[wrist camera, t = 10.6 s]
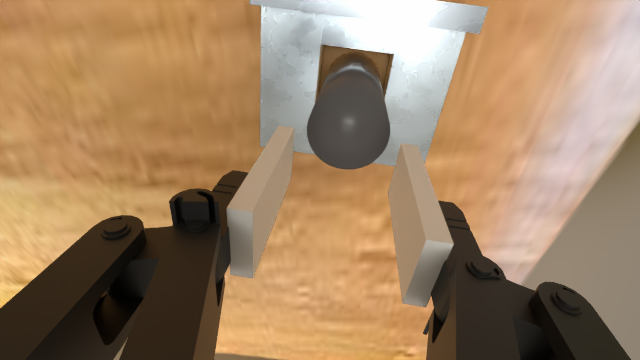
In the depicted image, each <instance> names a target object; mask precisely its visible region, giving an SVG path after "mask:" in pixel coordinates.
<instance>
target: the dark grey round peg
mask: <svg viewBox="0 0 640 360" xmlns="http://www.w3.org/2000/svg"><path fill="white" fill-rule="evenodd" d="M307 138H308V141H309V144H310V146H311V148H312V150H313V152H314V153H315V154H316V155H317V156H318V157H319V158H320V159H321V160H322V161H323V162H325V163H327V164H328V165H331V166H333V167H336V168H340V169H357V168H361V167H364V166H367V165H369V164H370V163H372V162H374V161H375V160H376V159H377V158H378V157H380V155H381V154H382V153H383V152H384V150H385V149H386V146H387V144H388V141H389V138H390V122H389V118H388V113H387V108H386V104H385V99H384V94H383V90H382V85H381V80H380V76H379V71H378V68H377V66H376V64H375V63H374V62H373V60H372V59H371V58H369V57H368V56H366V55H364V54H362V53H356V52H353V53H347V54H344V55H342V56H340V57H339V58H337V59H336V60H335V61H334V63H333V64H332V65H331V67H330V69H329V72H328V74H327V76H326V79H325V81H324V83H323V86H322V88H321V90H320V93H319V95H318V97H317V100H316V102H315V105H314V107H313V109H312V112H311V114H310V116H309V119H308V123H307Z"/></svg>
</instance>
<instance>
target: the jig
mask: <svg viewBox="0 0 640 360" xmlns="http://www.w3.org/2000/svg"><path fill="white" fill-rule="evenodd" d="M249 4H251V5H259V6H261V87H260V146H261V147H265V146H266V145H267V143H268V142H269V140H270V138H271V137H272V135H273V134H274V132H275V130H276V129H277V127H278V126H286V127H293V128H295V132H294V147H293V151H295V152H302V153H309V154H315V153H314V152H313V150H312V148H311V146H310V144H309V141H308V138H307V123H308V119H309V116H310V114H311V112H312V109H313V107H314V105H315V102H316V100H317V97H318V94H319V84H320V75H321V65H322V56H323V46H324V45H329V46H337V47H344V48H352V49H359V50H367V51H374V52H382V53H390V54H391V55H390V60H389V65H388V70H387V74H386V79H385V84H384V89H383V94H384V99H385V104H386V108H387V113H388V118H389V122H390V138H389V141H388V144H387V146H386V149H385V150H384V152H383V153H382V154H381V155H380V157H378V158H377V159H376V160H375V161H374V162H372V163H376V164H383V165H390V166H395V164H396V160H397V157H398V153H399V149H400V145H401V143H404V144H411V145H418V148H419V150H420V153H421V156H422V159H423V161H424V163H425V160H426V157H427V154H428V151H429V148H430V145H431V141H432V138H433V135H434V132H435V129H436V126H437V122H438V119H439V116H440V113H441V110H442V107H443V104H444V100H445V97H446V94H447V91H448V88H449V85H450V82H451V78H452V75H453V72H454V69H455V66H456V63H457V59H458V56H459V53H460V50H461V47H462V44H463V41H464V37H465V34H466V32H469V33H477V34H480V31H481V28H482V25H483V22H484V19H485V16H486V13H487V10H488V8H489V7H483V6H475V5H467V4H459V3H451V2H443V1H435V0H249ZM315 155H316V154H315Z"/></svg>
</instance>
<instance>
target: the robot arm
mask: <svg viewBox="0 0 640 360" xmlns="http://www.w3.org/2000/svg"><path fill="white" fill-rule="evenodd" d="M294 132H295V128H293V127H286V126H278V127H277V129H276V130H275V132H274V134H273V135H272V137H271V138H270V140H269V142H268V143H267V145H266V146H265V148H264V150H263V151H262V153H261V154H260V156H259V157H258V159H257V161H256V162H255V164H254V165H253V167H252V169H251V170H250V172H249V173H247V172H240V171H234V170H233V171H231V172H229V173H228V174H226V175H224V176H223V177H222V178H221V179H220V181H219V182H218V183H217V185H216V186H215V187H214V189H213V191H210V190H207V189H189V190H186V191H182V192H180V193H178V194H176V195H174V196H173V197H172V198H171V200H170V201H169V204H170V209H171V215H172V221H173V226H170V227H160V228H145V229H144V225H143V222H142V221H141V220H140V219H139V218H137V217H134V216H126V215H121V216H116V217H111V218H108V219H106V220H103V221H101V222H100V223H98V224H97V225H95V226H93V227H92V228H91V229H90V230H89V231H88V232H87V233H86V234H84V235H83V236H82V237H81V238H80V239H79V240H78V241H76V242H75V243H74V244H73V245H72V246H71V247H70V248H69V249H67V250H66V251H65V252H64V253H63V254H62V255H61V256H59V257H58V258H57V259H56V260H55V261H54V262H53V263H52V264H50V265H49V266H48V267H47V268H46V269H45V270H44V271H42V272H41V273H40V274H39V275H38V276H37V277H36V278H35V279H33V280H32V281H31V282H30V283H29V284H28V285H27V286H25V287H24V288H23V289H22V290H21V291H20V292H19V293H17V294H16V295H15V296H14V297H13V298H12V299H11V300H10V301H8V302H7V303H6V304H5V305H4V306H3V307H2V308H0V360H113V359H114V358H115V356H116V355H117V353H118V352H119V350H120V349H121V347H122V346H123V344H124V343H125V341H126V340H127V342H126V344H125V347H124V349H123V352H122V354H121V357H120V359H119V360H214V355H215V348H216V342H217V335H218V328H219V321H220V315H221V308H222V301H223V294H224V288H225V278H224V274H225V272H226V270H227V268H228V266H229V264H230V275H235V276H241V277H248V278H253V277H254V274H255V272H256V269H257V267H258V264H259V261H260V259H261V256H262V254H263V251H264V248H265V246H266V243H267V240H268V238H269V235H270V233H271V230H272V227H273V225H274V222H275V219H276V217H277V214H278V212H279V209H280V206H281V204H282V201H283V199H284V196H285V193H286V191H287V188H288V185H289V183H290V180H291V176H292V161H293V147H294ZM388 197H389V204H390V212H391V220H392V227H393V235H394V243H395V250H396V258H397V265H398V273H399V281H400V288H401V296H402V303H404V304H410V305H416V306H422V307H426V306H427V304H428V302H429V299H430V297H431V296H432V300H433V305H434V309H433V312H432V314H431V316H430V318H429V320H428V322H427V325H426V327H425V329H424V332H423V334H425V335H427V333H428V331H429V333H428V345H427V357H426V360H631V359H630V358H629V356H628V355H627V354H626V352H625V351H624V349H623V348H622V347H621V345H620V344H619V342H618V341H617V340H616V339H615V337H614V336H613V334H612V333H611V331H610V330H609V329H608V327H607V326H606V325H605V323H604V322H603V320H602V319H601V318H600V317H599V315H598V314H597V312H596V311H595V309H594V308H593V307H592V306H591V304H590V303H589V302H587V300H586V299H585V298H584V297H582V296H581V295H580V294H578V293H577V292H576V291H574V290H572V289H570V288H568V287H566V286H564V285H561V284H558V283H554V282H544V283H542V284H540V285H539V286H538V287H537V289H536V290H535V291H534V290H531V289H528V288H526V287H524V286H521V285H518V284H516V283H513V282H511V281H509V280H507V279H506V277H505V275H504V273H503V271H502V270H501V268H500V267H499V266H498V265H497V264H496V263H494V262H493V261H491V260H490V259H489V258H486V257H484V256H483V255H482V253H481V251H480V249H479V247H478V245H477V242H476V240H475V238H474V236H473V234H472V232H471V231H470V227H469V225H468V223H466V222H467V221H466V219H465V216H464V214H463V212H462V211H461V210H460V209H459V208H458V207H457V206H456V205H455V204H454V203H451V202H444V201H438V199H437V197H436V194H435V191H434V189H433V186H432V183H431V180H430V178H429V175H428V172H427V169H426V167H425V164H424V161H423V159H422V156H421V153H420V150H419V148H418V145H411V144H404V143H401V145H400V149H399V153H398V157H397V160H396V164H395V168H394V172H393V176H392V179H391V183H390V187H389V191H388ZM127 338H128V339H127Z"/></svg>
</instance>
